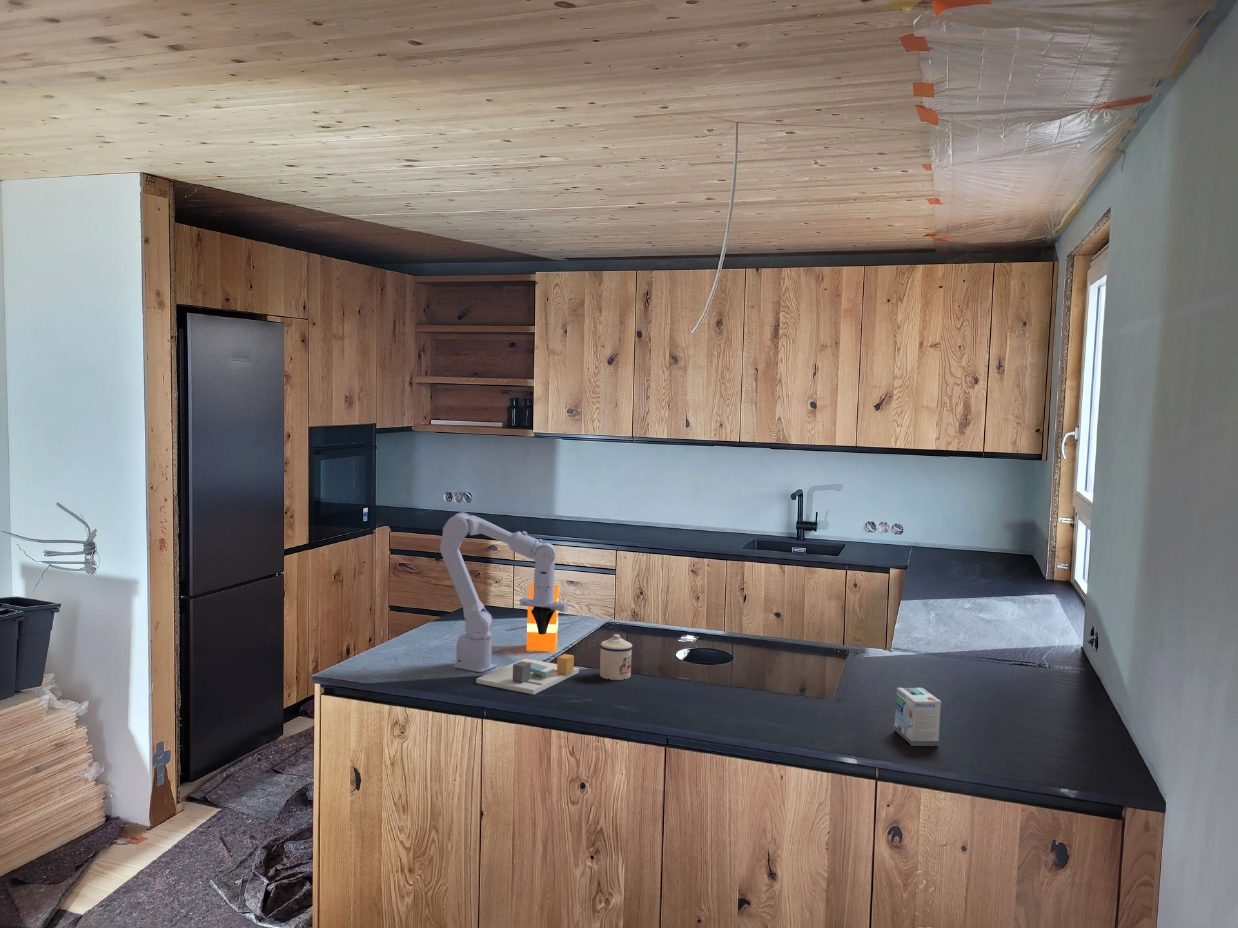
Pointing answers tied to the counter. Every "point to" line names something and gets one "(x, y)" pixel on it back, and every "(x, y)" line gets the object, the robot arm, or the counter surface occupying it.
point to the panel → (531, 686)
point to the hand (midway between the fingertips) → (542, 633)
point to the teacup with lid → (615, 658)
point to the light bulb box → (917, 714)
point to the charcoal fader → (521, 671)
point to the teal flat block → (541, 669)
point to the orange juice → (533, 637)
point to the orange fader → (565, 664)
